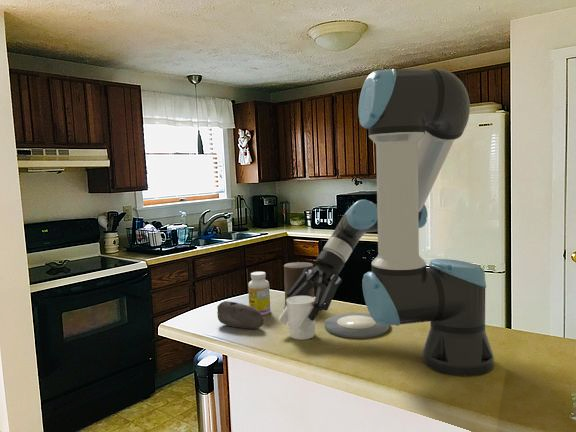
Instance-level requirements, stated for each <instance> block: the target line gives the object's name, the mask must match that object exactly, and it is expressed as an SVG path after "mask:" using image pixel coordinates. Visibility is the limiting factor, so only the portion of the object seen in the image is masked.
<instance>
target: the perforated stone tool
mask: <svg viewBox="0 0 576 432" xmlns="http://www.w3.org/2000/svg"><path fill="white" fill-rule="evenodd" d="M216 308H217V312H216V313H217V320H218V321H219V322H220V323H221V324H223V325H226V326H227V327H228V326H229V327H232V328H240V329H248V330H249V329H250V330H252V329H253V330H255V329H259V328H261V327H262V326H263V324H264V317H263V315H261V313H260V312H259V311H258V310H256V309H254V308H252V307H250V306H249V305H247V304H244V303H239V302H235V301H226V300H225V301H222V302H220V303H219V304H218V305H217V307H216Z"/></svg>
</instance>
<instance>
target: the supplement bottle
mask: <svg viewBox="0 0 576 432" xmlns="http://www.w3.org/2000/svg"><path fill="white" fill-rule="evenodd" d="M266 277H267V274H266V272H265V271H253V272H250V278H251V280H250V281H249V282H248V285H247V286H248V287H247V289H248V306H250V307H252V308H254V309H256V310H258V311H259V312H260V313H261V315H262V316H266V315H268V314H270V312H271V298H270V296H271V295H270V292H271V291H270V283H269V281H268V280H267V279H266Z"/></svg>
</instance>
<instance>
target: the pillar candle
mask: <svg viewBox="0 0 576 432" xmlns="http://www.w3.org/2000/svg"><path fill="white" fill-rule="evenodd" d="M283 268H284V269H283V271H284V274H283V275H284V276H283V277H284V278H283V279H284V307H285V306H286V304H287V302H286V300H287V299H288V298H289V297H288V296H287V295H286V294H287V293H288V291H289V290H290V289H291V288H292V286H293V285H294V284H295V282H296V281H297V280H298V279H299V277H300V276H301V275H302V273H303V271H304V269H305V268H307V269H308V270H312V269H313V268H314V264H313V263H311V262H304V261H303V262H301V261H300V262H299V261H297V262H288V263H285V264H284V265H283ZM310 281H311V280H310ZM311 282H312V281H311ZM312 283H313V282H312ZM304 296H311V297H314V298H315V288H312V289H311V290H310V291H309V292H307V293H306V294H305V295H304Z"/></svg>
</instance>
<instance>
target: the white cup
mask: <svg viewBox="0 0 576 432" xmlns="http://www.w3.org/2000/svg"><path fill="white" fill-rule="evenodd" d="M314 301H315V296H314V297H311V296H293V297H290V298H288V299H287V300H286V302H287V314H288V322H287V323H288V327H289V328H288V330H289V337H291V339H295V340H301V341H302V340H310V339H311V338H314V337H315V335H316V319H315V320H314V321H312V322H311V324H310V326H309V327H308V329H307V331H306V332H303V331H302V330H301V329H300V328H299V327H298V325H299V323H300V322H301V320H302V318H303V317H304V315H305V314H306V312H307V310H308V309H309V307H310V306H313V305H312V303H314ZM313 307H314V306H313Z"/></svg>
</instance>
